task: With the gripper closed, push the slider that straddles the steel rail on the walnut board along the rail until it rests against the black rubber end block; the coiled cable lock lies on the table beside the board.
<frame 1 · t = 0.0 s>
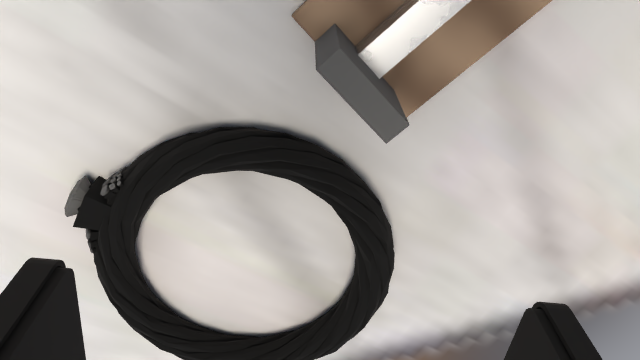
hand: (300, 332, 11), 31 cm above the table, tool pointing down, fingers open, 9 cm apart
cable lock: (237, 246, 49), on the table
stop: (354, 63, 40), resting on board
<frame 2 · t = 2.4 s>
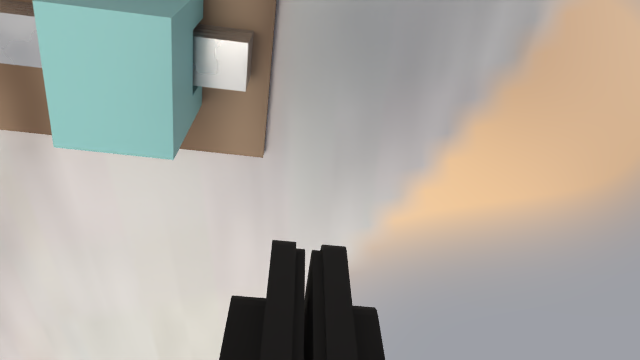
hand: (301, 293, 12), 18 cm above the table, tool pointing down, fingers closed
board: (41, 23, 26), on the table
rail: (32, 34, 25), on the board, point 1 cm above the table
slider: (133, 62, 23), point 4 cm above the table, slide at 0.0 cm
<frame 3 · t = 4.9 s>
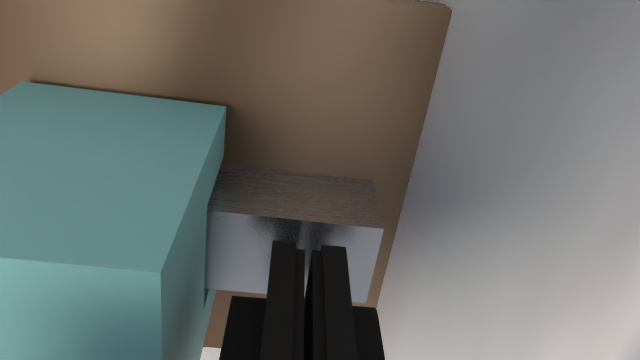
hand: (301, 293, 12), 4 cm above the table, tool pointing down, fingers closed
slider: (85, 271, 11), point 4 cm above the table, slide at 1.7 cm, touching gripper
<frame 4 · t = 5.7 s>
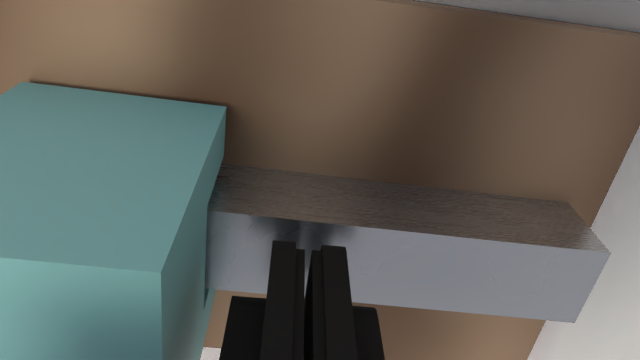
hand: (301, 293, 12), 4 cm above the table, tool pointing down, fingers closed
board: (192, 182, 15), on the table
rail: (196, 222, 13), on the board, point 1 cm above the table
slider: (85, 272, 11), point 4 cm above the table, slide at 7.5 cm, touching gripper
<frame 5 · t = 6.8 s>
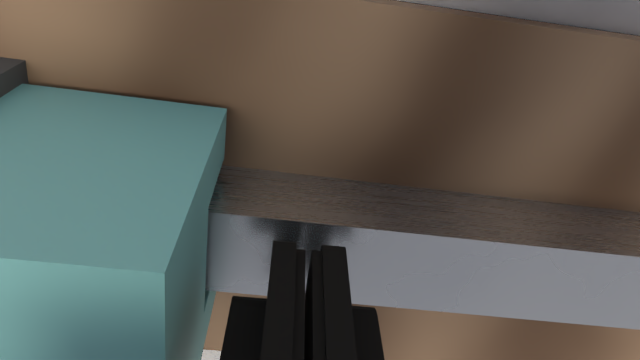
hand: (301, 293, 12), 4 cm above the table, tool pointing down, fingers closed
board: (389, 206, 16), on the table
rail: (417, 246, 14), on the board, point 1 cm above the table
slider: (86, 273, 11), point 4 cm above the table, slide at 13.5 cm, touching gripper, stop
stop: (19, 165, 15), resting on board
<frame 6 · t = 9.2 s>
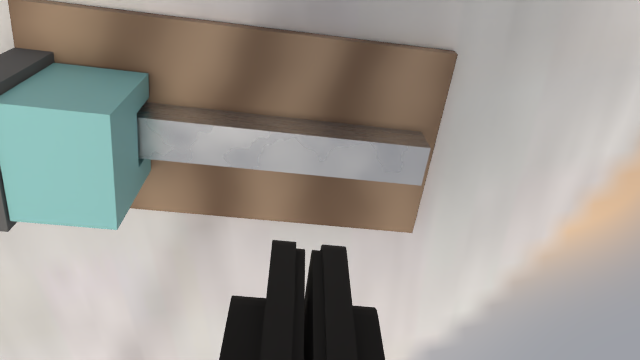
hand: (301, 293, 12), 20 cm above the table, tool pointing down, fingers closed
board: (237, 126, 31), on the table
rail: (242, 140, 29), on the board, point 1 cm above the table
slider: (83, 142, 26), point 4 cm above the table, slide at 13.4 cm
stop: (48, 106, 30), resting on board
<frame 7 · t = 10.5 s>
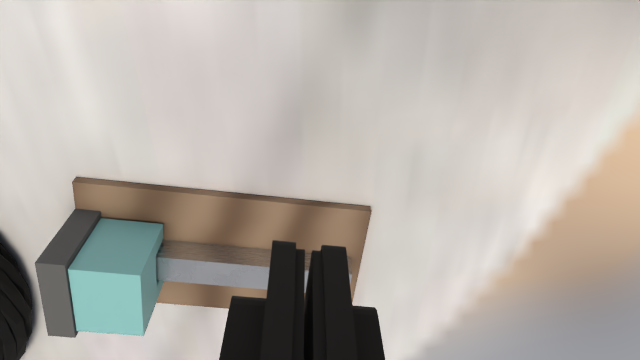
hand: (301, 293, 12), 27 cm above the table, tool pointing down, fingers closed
board: (223, 250, 45), on the table
rail: (226, 265, 43), on the board, point 1 cm above the table
slider: (121, 275, 40), point 4 cm above the table, slide at 13.4 cm
stop: (95, 238, 44), resting on board
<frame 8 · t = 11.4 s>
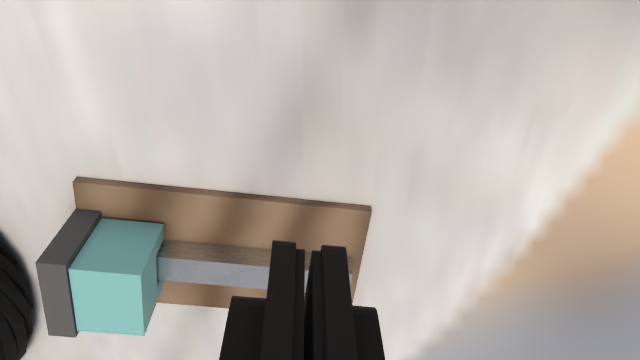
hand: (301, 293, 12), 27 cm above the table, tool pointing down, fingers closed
board: (224, 250, 45), on the table
rail: (226, 265, 43), on the board, point 1 cm above the table
slider: (122, 275, 40), point 4 cm above the table, slide at 13.4 cm
stop: (95, 238, 44), resting on board
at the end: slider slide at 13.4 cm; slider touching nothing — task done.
